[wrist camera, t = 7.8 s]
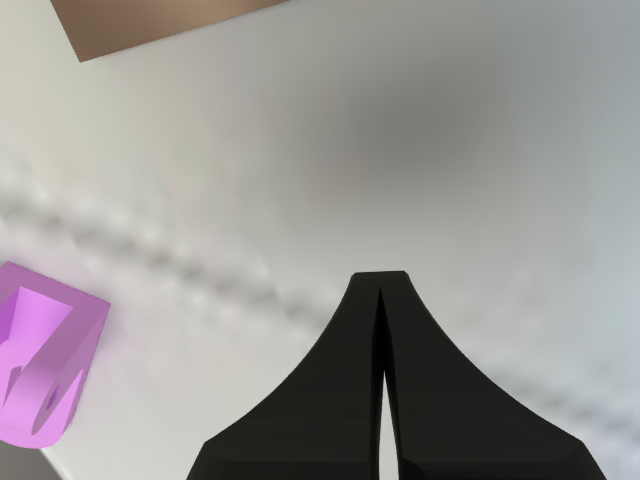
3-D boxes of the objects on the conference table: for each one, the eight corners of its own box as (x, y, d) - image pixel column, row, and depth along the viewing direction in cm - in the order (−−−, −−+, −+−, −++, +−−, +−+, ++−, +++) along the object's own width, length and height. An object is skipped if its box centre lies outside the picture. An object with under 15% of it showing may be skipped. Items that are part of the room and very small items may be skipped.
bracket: (9, 259, 26) (-97, 350, 20) (111, 302, 27) (39, 401, 21) (-19, 410, 33) (-107, 514, 27) (65, 441, 33) (-1, 548, 27)
